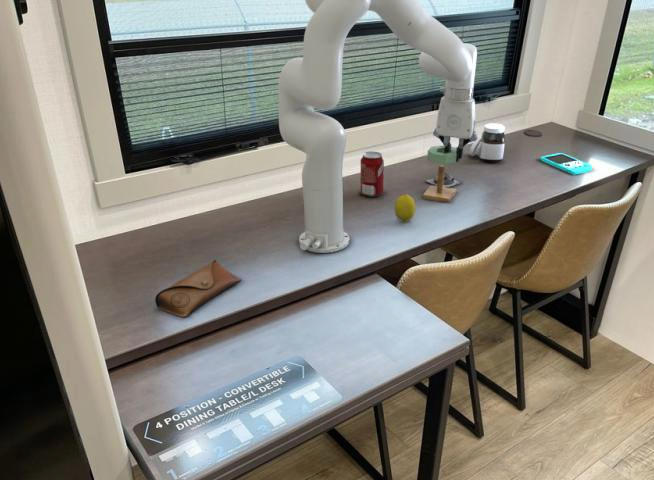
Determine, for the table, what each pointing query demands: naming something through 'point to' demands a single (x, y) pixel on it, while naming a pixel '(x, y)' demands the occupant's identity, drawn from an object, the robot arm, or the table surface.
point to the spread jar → (490, 143)
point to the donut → (447, 181)
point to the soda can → (372, 174)
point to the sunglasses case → (195, 290)
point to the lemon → (405, 207)
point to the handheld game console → (567, 163)
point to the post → (439, 189)
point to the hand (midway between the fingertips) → (452, 159)
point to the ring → (441, 155)
